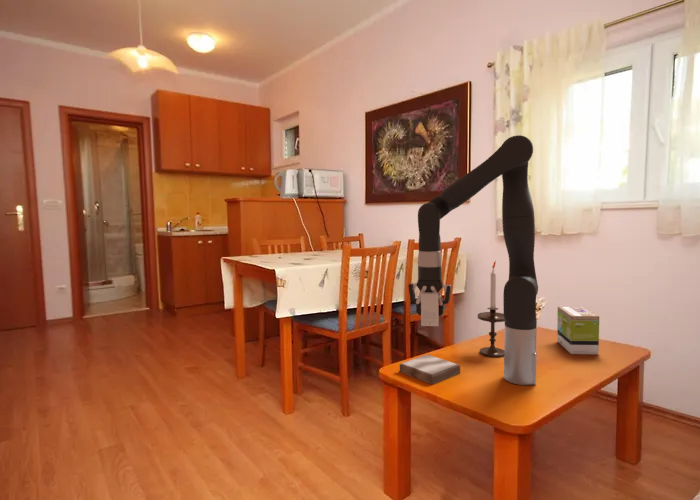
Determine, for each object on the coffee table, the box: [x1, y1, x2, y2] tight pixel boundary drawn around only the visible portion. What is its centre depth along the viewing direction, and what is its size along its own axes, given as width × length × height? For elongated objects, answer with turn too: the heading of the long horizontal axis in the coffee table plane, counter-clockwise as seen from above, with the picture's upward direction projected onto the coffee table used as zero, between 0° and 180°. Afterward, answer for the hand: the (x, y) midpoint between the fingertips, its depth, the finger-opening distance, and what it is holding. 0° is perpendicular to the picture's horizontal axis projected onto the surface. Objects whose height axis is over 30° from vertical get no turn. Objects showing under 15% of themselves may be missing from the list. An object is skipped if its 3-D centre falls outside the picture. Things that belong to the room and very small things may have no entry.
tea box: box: [556, 306, 600, 355], centre depth 160 cm, size 15×10×15 cm
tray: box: [399, 354, 461, 386], centre depth 139 cm, size 14×14×3 cm
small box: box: [420, 292, 440, 327], centre depth 137 cm, size 8×6×10 cm
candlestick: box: [477, 260, 505, 358], centre depth 155 cm, size 11×11×35 cm
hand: (429, 315), depth 137 cm, fingers closed on small box, 6 cm apart
